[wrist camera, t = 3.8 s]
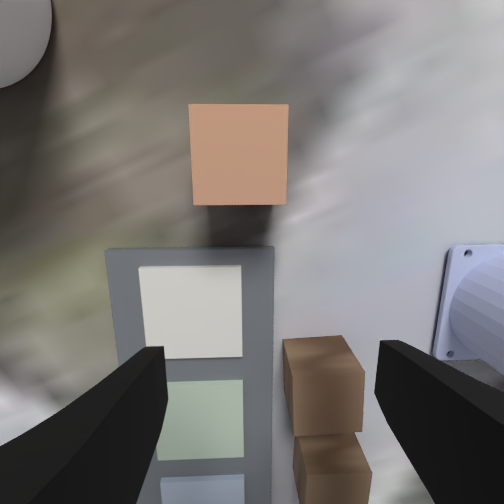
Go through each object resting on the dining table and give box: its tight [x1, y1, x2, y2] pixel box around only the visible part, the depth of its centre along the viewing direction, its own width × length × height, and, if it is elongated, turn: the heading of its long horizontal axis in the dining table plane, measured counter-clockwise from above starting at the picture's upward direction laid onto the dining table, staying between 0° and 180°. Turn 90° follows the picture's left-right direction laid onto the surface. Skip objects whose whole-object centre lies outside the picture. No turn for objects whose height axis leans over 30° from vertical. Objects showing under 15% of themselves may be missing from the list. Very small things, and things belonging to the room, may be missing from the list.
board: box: [104, 246, 274, 504], centre depth 21 cm, size 10×24×1 cm, turn 0°
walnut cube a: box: [283, 335, 365, 437], centre depth 19 cm, size 4×4×4 cm
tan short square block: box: [189, 104, 288, 205], centre depth 15 cm, size 4×4×5 cm
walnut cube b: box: [293, 432, 372, 504], centre depth 21 cm, size 4×4×4 cm
